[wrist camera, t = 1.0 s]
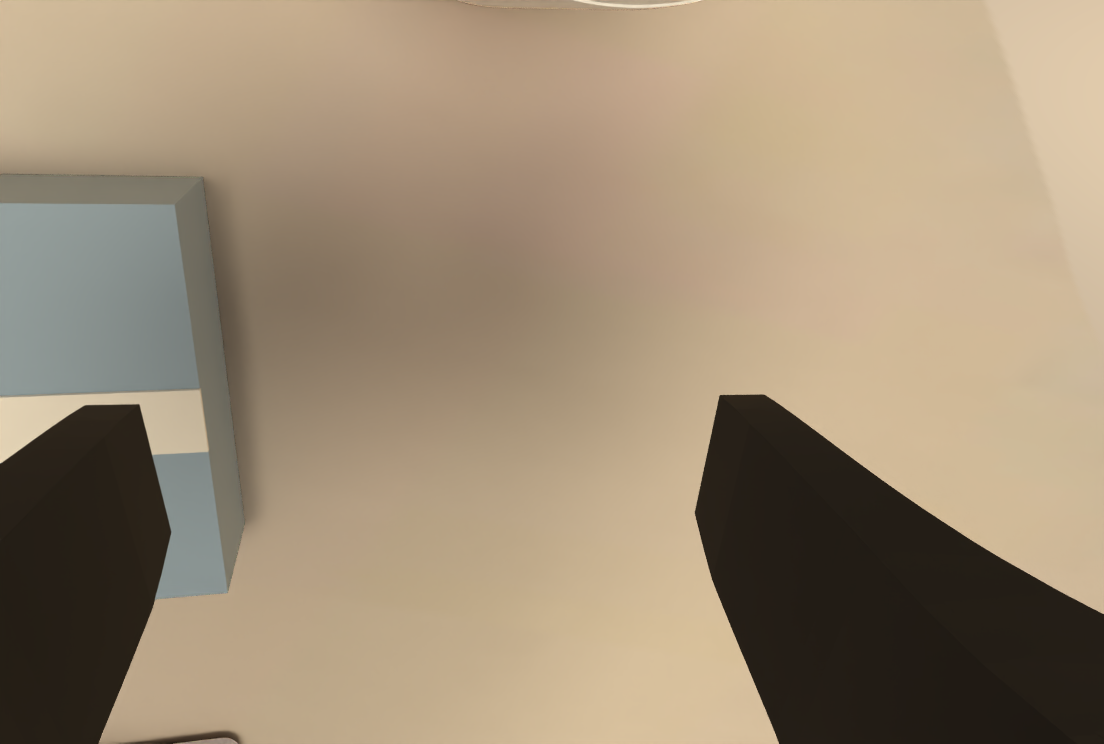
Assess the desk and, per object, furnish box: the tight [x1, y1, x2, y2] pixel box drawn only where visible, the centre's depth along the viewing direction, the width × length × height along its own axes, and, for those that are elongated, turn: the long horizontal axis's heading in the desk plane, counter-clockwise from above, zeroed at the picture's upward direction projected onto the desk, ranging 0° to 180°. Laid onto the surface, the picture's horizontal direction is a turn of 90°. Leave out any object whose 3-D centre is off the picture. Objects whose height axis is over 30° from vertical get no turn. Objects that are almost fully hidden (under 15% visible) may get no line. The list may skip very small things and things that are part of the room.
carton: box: [0, 174, 245, 599], centre depth 19 cm, size 10×8×4 cm
